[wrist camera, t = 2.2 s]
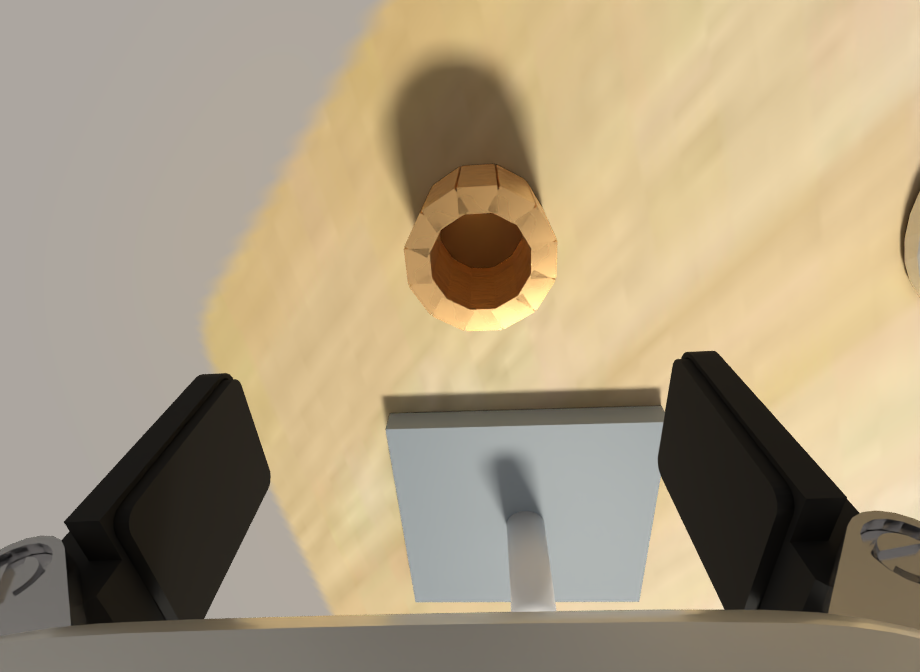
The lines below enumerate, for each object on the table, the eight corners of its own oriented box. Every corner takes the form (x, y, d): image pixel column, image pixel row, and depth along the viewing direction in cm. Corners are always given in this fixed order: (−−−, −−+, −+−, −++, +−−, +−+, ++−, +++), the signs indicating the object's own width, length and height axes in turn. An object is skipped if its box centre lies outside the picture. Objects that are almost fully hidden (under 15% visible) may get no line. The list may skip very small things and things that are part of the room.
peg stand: (661, 405, 28) (716, 506, 22) (633, 582, 36) (667, 696, 29) (389, 413, 29) (362, 511, 23) (418, 583, 37) (403, 694, 30)
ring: (543, 160, 22) (559, 181, 18) (542, 283, 25) (554, 327, 20) (413, 168, 22) (396, 191, 18) (426, 288, 25) (414, 333, 21)
